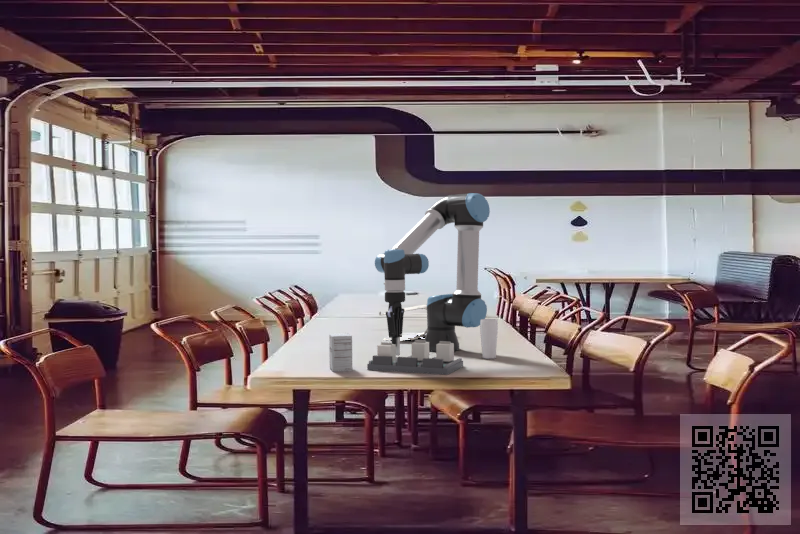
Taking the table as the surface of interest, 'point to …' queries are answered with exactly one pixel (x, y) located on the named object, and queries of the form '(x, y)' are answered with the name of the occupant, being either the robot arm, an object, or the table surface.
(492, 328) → the drinking glass
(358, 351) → the table surface
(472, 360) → the table surface
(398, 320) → the robot arm
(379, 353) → the white block
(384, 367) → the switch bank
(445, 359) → the switch slider
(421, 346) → the white block with ridge
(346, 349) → the supplement box
